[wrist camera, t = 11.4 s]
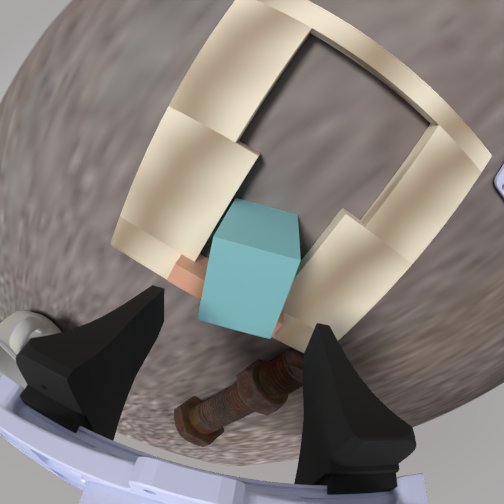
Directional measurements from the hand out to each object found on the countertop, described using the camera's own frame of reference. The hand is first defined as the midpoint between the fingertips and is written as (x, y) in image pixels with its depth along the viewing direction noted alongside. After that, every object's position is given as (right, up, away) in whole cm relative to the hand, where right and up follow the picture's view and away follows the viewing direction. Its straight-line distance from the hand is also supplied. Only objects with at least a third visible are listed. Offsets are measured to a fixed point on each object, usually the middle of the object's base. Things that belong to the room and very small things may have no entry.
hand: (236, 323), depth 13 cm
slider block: (+1, +4, +6) cm, 7 cm away
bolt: (0, -9, +13) cm, 16 cm away
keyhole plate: (+4, +7, +4) cm, 9 cm away
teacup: (-22, -6, +14) cm, 27 cm away
